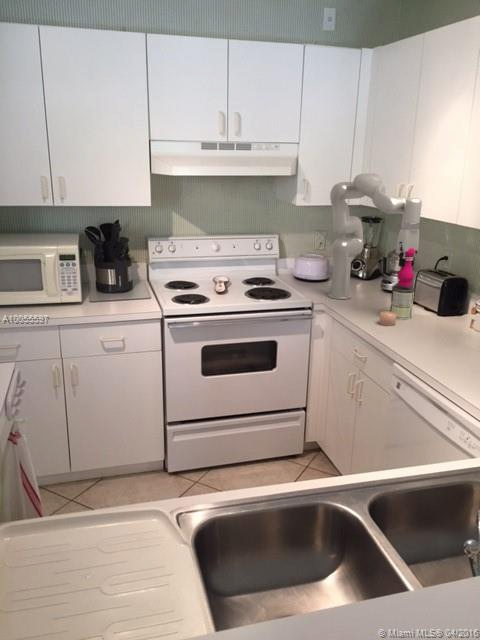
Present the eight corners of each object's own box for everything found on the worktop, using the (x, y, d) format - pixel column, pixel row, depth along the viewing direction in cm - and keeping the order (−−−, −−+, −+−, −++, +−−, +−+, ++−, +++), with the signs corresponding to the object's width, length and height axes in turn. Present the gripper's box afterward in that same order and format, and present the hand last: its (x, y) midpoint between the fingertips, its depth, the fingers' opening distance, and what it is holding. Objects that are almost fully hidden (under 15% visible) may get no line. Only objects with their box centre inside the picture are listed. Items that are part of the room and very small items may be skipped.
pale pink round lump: (376, 323, 244) (377, 312, 242) (386, 320, 247) (388, 310, 246) (387, 327, 238) (388, 316, 236) (398, 324, 241) (399, 314, 240)
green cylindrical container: (385, 313, 257) (388, 285, 253) (404, 312, 259) (407, 284, 255) (395, 320, 248) (398, 291, 243) (415, 319, 250) (419, 290, 246)
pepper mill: (413, 287, 244) (417, 244, 238) (397, 286, 246) (401, 243, 240) (412, 284, 251) (416, 241, 245) (396, 283, 253) (400, 241, 247)
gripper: (416, 224, 248) (412, 262, 253) (390, 226, 239) (386, 266, 245) (429, 226, 242) (425, 265, 247) (403, 228, 233) (399, 269, 239)
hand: (406, 265), depth 246 cm, fingers closed on pepper mill, 5 cm apart
